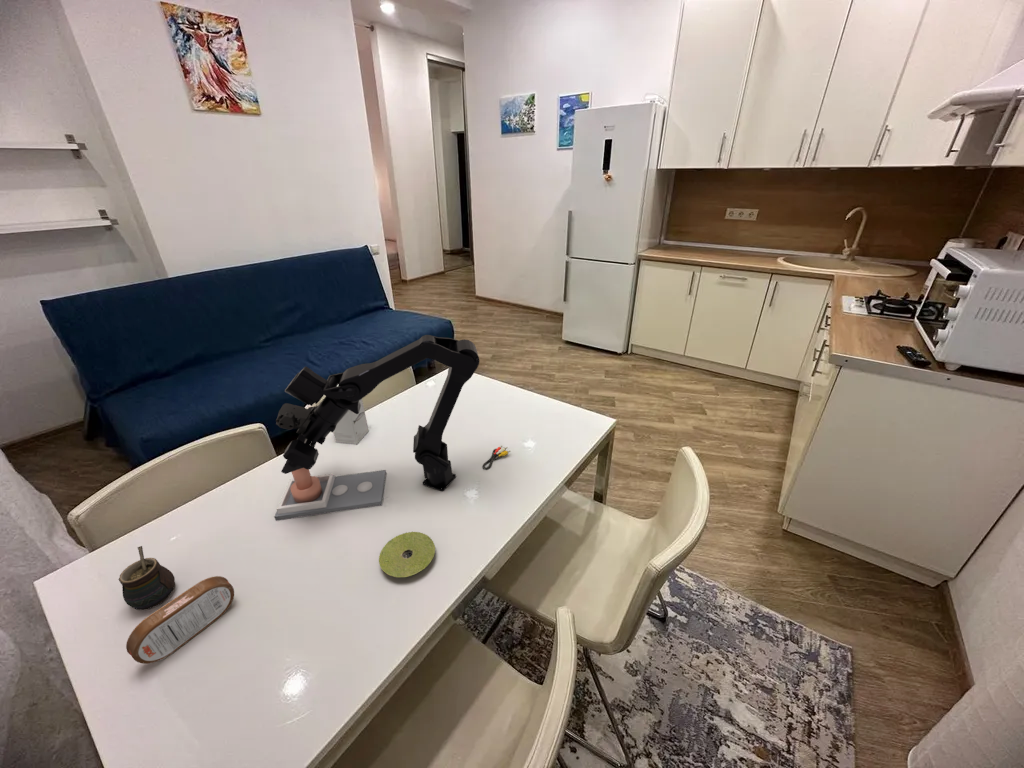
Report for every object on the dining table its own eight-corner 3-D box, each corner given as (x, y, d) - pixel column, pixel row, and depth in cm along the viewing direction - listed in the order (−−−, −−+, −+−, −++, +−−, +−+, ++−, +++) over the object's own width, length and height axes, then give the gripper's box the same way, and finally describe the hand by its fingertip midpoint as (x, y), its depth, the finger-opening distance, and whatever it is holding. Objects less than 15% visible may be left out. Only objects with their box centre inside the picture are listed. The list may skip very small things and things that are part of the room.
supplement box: (357, 445, 120) (348, 408, 115) (335, 442, 122) (325, 406, 116) (369, 431, 127) (362, 396, 121) (348, 429, 128) (339, 394, 122)
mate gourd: (130, 624, 73) (102, 587, 69) (134, 593, 79) (109, 557, 74) (179, 601, 77) (156, 565, 72) (179, 573, 82) (158, 538, 78)
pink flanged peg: (325, 494, 100) (316, 465, 95) (298, 507, 96) (287, 478, 92) (317, 481, 104) (308, 453, 100) (290, 493, 100) (280, 464, 96)
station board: (386, 473, 109) (384, 465, 107) (381, 505, 98) (379, 496, 97) (290, 486, 105) (287, 477, 104) (275, 520, 94) (272, 511, 93)
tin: (234, 594, 78) (219, 565, 74) (243, 603, 76) (227, 573, 72) (139, 666, 67) (114, 635, 63) (146, 677, 65) (122, 646, 61)
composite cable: (486, 472, 109) (486, 465, 107) (474, 464, 112) (474, 457, 110) (511, 455, 115) (511, 448, 114) (499, 448, 118) (499, 441, 117)
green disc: (372, 555, 85) (370, 549, 84) (421, 529, 91) (420, 523, 90) (393, 594, 77) (391, 587, 76) (445, 563, 83) (444, 556, 82)
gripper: (305, 376, 96) (269, 421, 99) (281, 417, 80) (238, 469, 83) (347, 401, 101) (311, 443, 104) (332, 444, 85) (290, 493, 88)
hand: (289, 459), depth 95 cm, fingers open, 9 cm apart
